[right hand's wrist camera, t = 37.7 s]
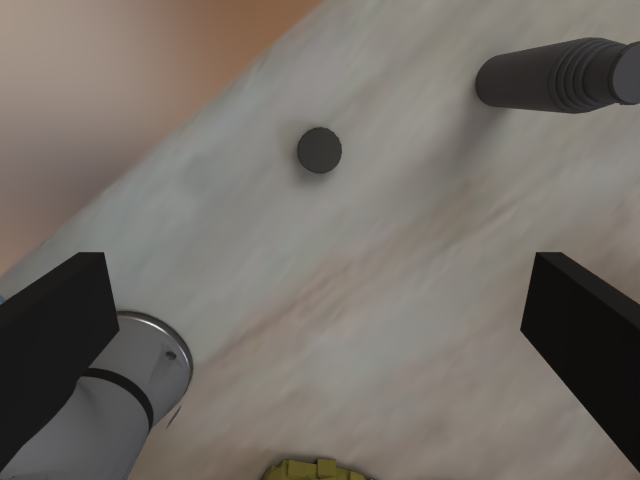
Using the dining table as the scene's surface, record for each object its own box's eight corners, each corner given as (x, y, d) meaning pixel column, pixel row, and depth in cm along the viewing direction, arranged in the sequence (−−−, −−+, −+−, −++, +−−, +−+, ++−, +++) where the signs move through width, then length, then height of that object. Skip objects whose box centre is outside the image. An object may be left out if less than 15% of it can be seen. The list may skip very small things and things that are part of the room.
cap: (289, 147, 42) (288, 149, 41) (321, 117, 41) (321, 118, 40) (318, 179, 44) (318, 182, 42) (349, 151, 43) (351, 153, 41)
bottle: (534, 81, 40) (703, 73, 22) (494, 116, 41) (625, 136, 24) (505, 43, 39) (660, 3, 21) (465, 81, 40) (580, 73, 22)
